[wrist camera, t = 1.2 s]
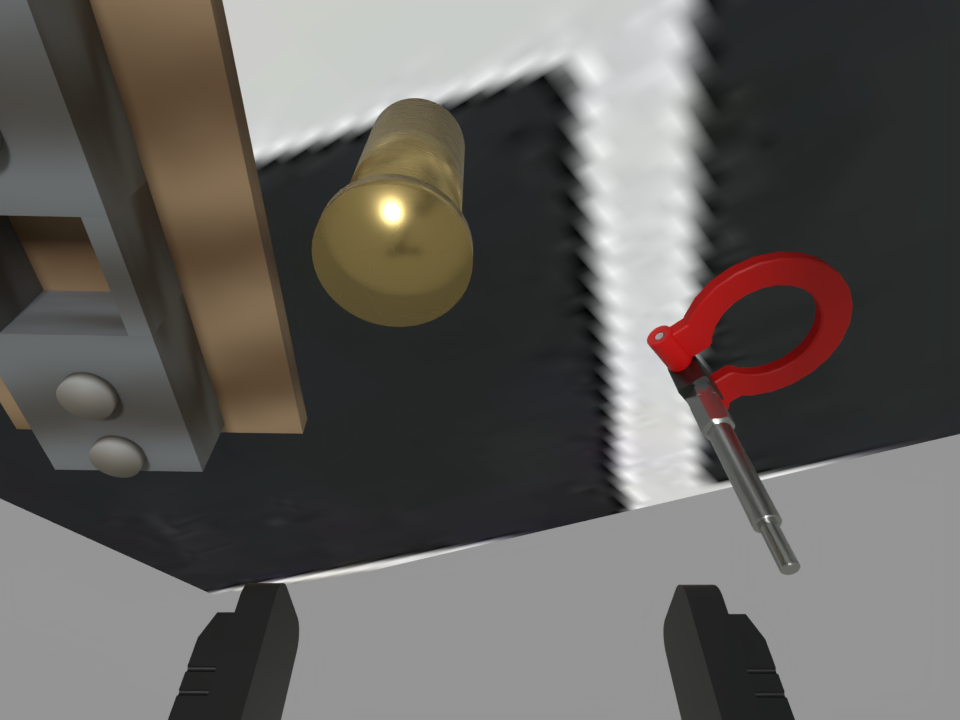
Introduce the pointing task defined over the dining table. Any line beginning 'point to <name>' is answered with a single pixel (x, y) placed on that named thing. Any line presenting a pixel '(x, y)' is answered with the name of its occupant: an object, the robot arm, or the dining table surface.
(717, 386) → the tow hook
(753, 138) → the dining table surface
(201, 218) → the board
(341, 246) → the pin
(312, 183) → the dining table surface
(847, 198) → the dining table surface
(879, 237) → the dining table surface
